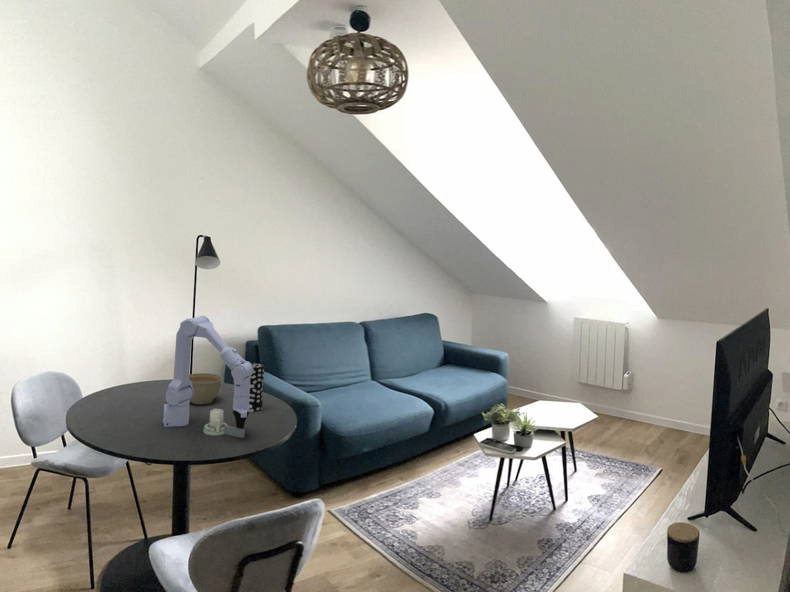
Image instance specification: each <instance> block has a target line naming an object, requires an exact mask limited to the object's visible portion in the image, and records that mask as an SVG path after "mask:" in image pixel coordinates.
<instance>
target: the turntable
mask: <svg viewBox="0 0 790 592" xmlns="http://www.w3.org/2000/svg"><path fill="white" fill-rule="evenodd" d="M245 431H246V430H245V429H244V428H243V429H241V428H237V427H236V426H231V425H228V423H226V422H223V428H220V431H219V432H216V431H215V429H212V428H211V429H210V422H208V423H206V424H205V425H204V426H203V433H204V435H207V436H211V437H212V436H213V437H216V436H218V437H219V436H223V435H228V436H232V437H236V438H240V439H244V438H245V437H246V436H245Z"/></svg>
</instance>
